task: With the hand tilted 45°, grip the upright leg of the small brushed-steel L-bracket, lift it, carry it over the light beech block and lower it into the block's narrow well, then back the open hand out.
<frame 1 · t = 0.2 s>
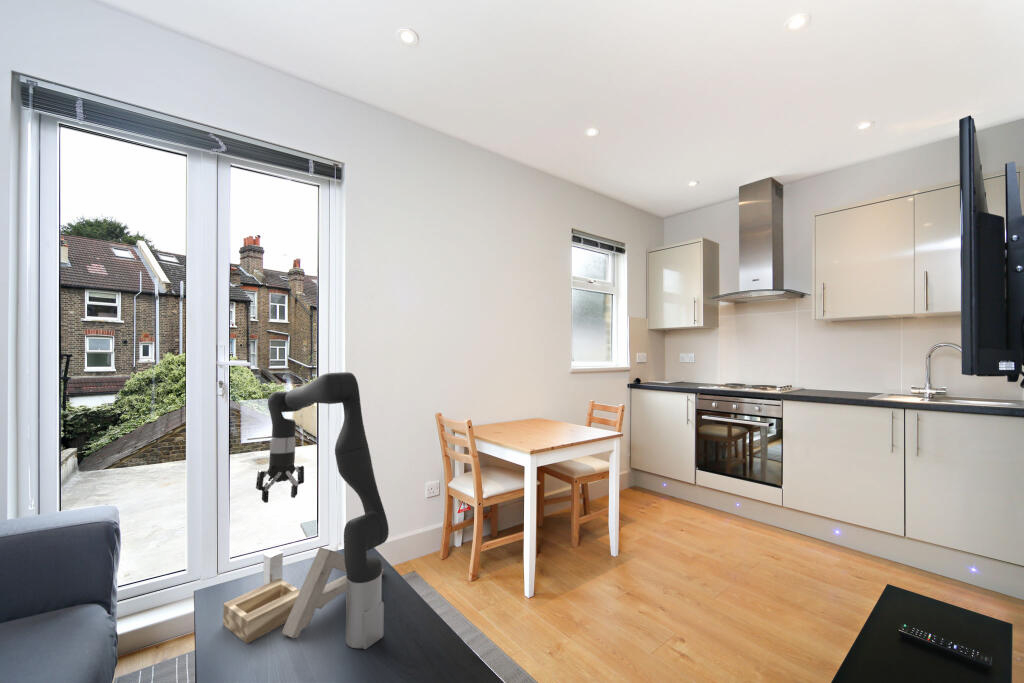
hand: (279, 499, 141), 29 cm above the table, tool pointing down, fingers open, 8 cm apart
beech well block: (264, 618, 124), on the table
wall bracket: (339, 603, 132), on the table
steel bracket: (262, 597, 134), on the table
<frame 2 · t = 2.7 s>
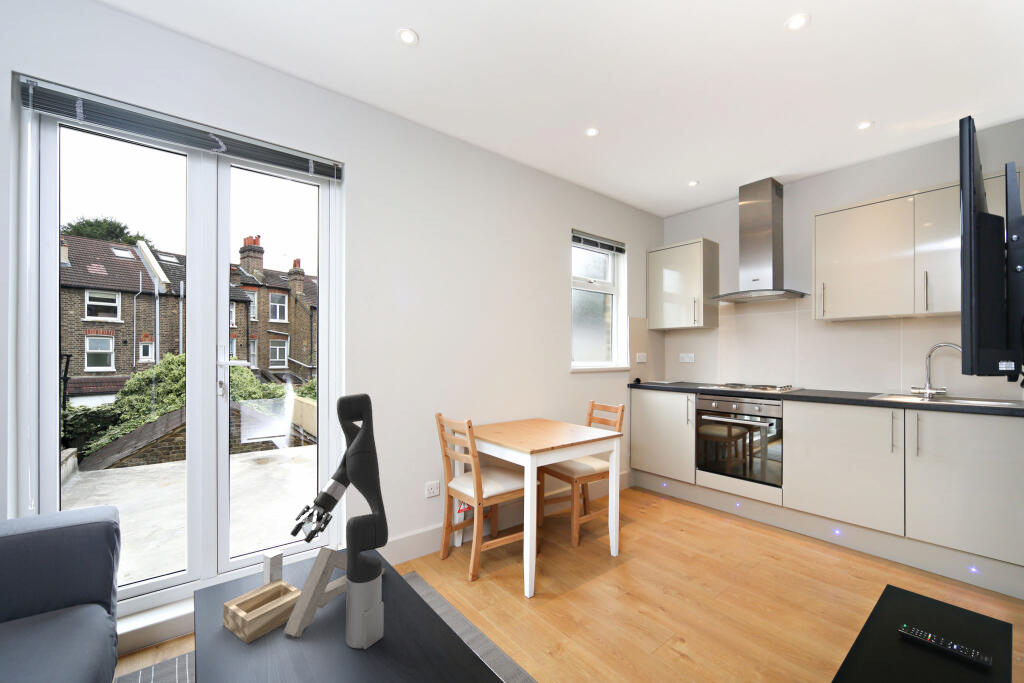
hand: (299, 538, 144), 14 cm above the table, tool tilted 45°, fingers open, 8 cm apart
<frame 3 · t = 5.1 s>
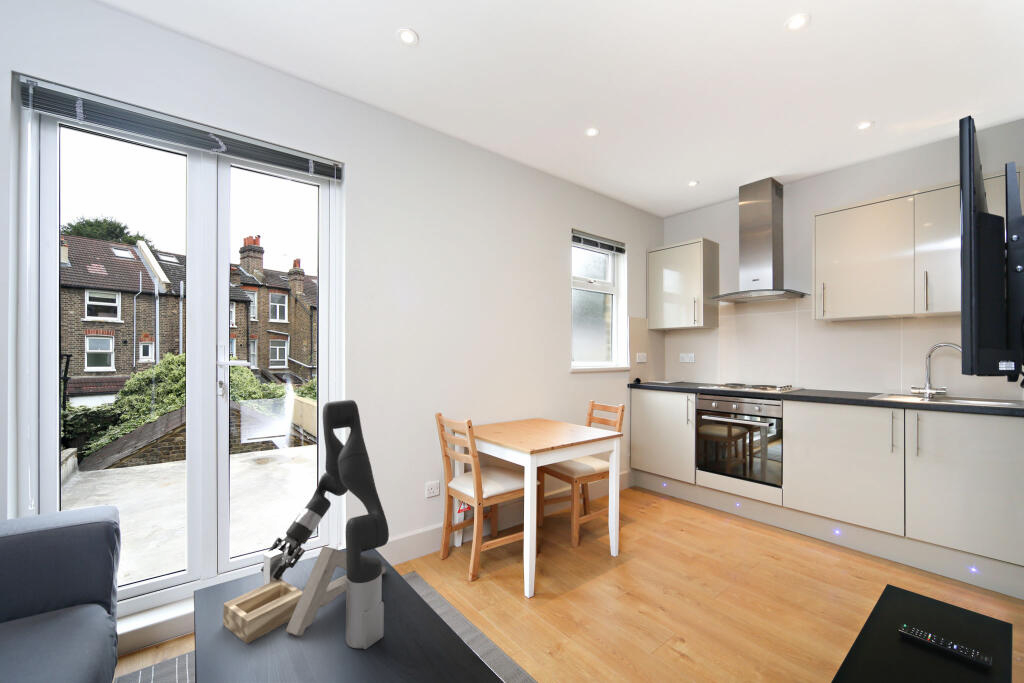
hand: (269, 575, 135), 7 cm above the table, tool tilted 45°, fingers open, 6 cm apart
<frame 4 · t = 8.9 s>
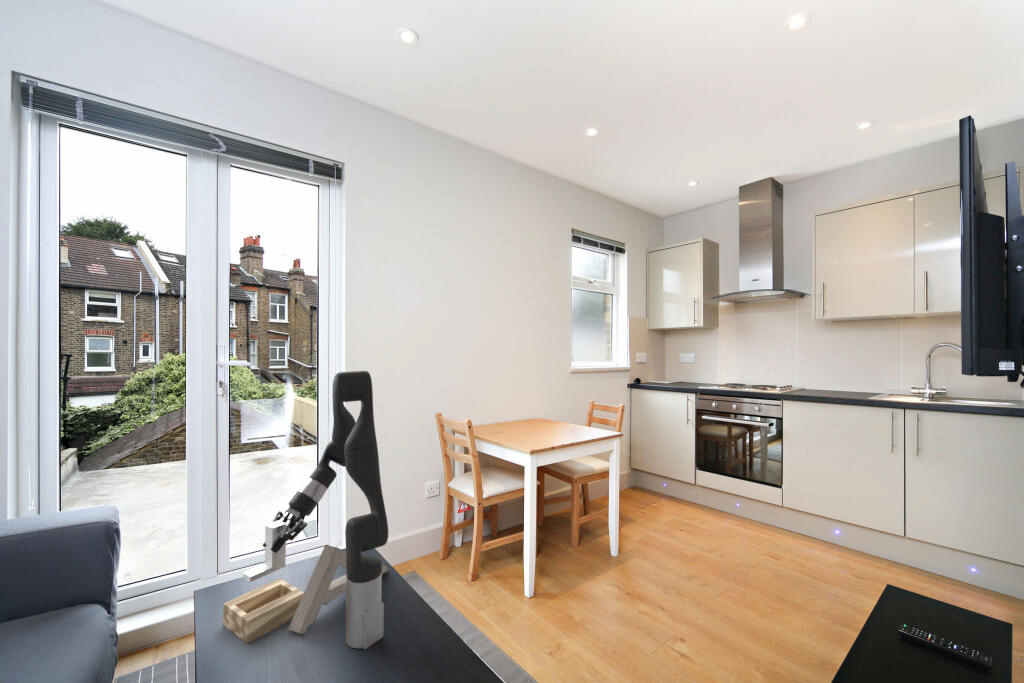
hand: (269, 549, 125), 20 cm above the table, tool tilted 45°, fingers closed on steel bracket, 4 cm apart
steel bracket: (264, 572, 124), point 14 cm above the table, touching gripper
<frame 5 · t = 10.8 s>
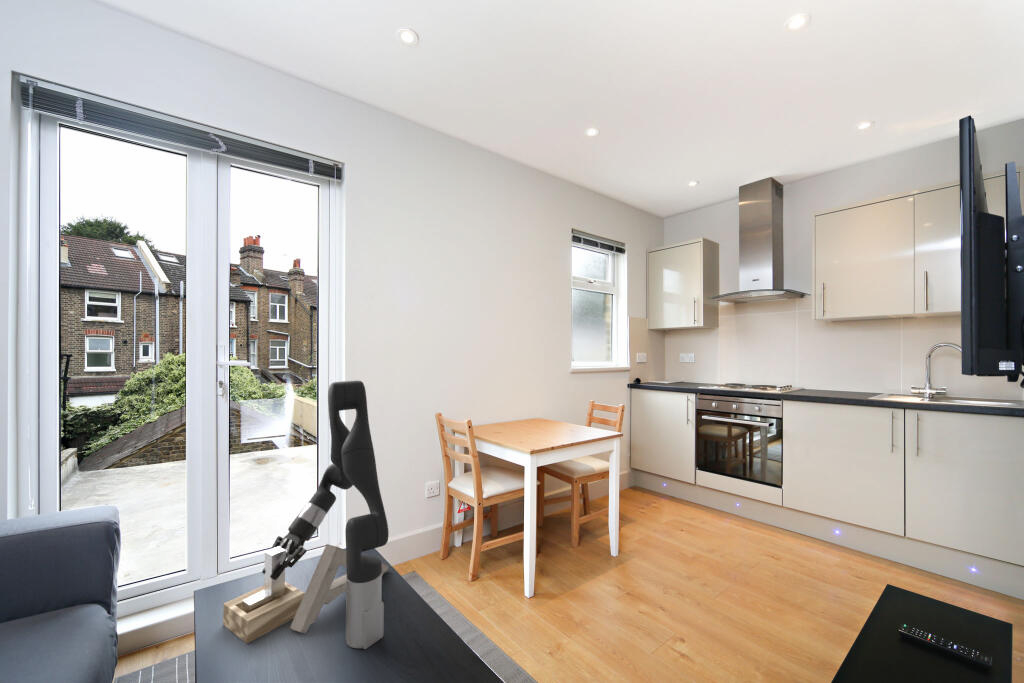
hand: (268, 576, 125), 12 cm above the table, tool tilted 45°, fingers closed on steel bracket, 4 cm apart
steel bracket: (264, 599, 124), point 6 cm above the table, touching gripper
when the fingers open (8 cm above the table, at t = 12.0 s): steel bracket drops 1 cm, resting on beech well block.
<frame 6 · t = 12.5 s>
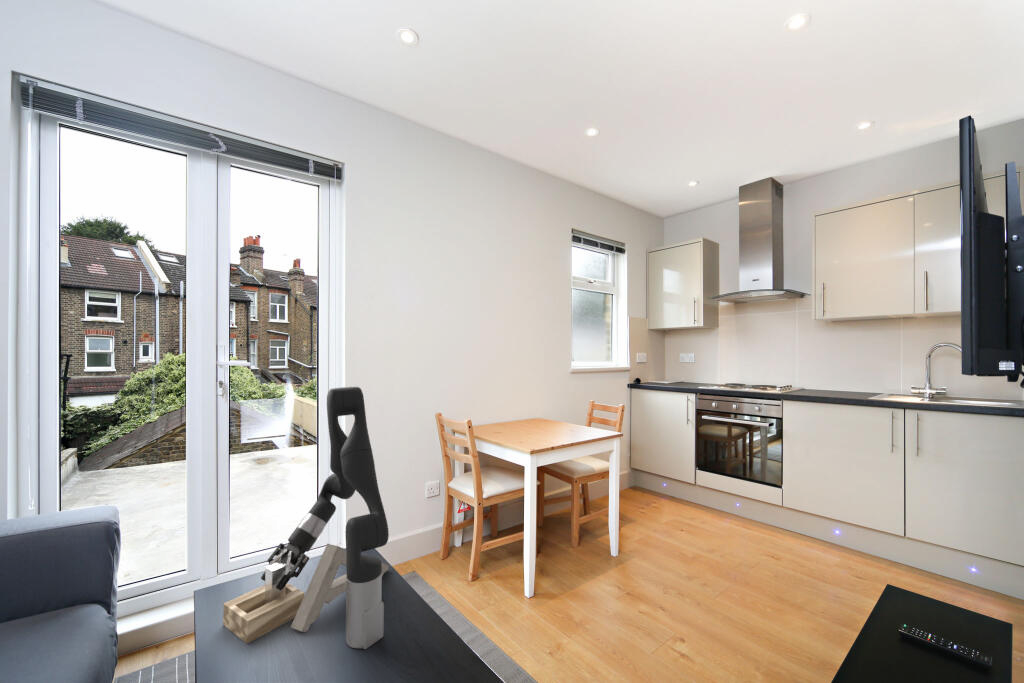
hand: (270, 584, 125), 9 cm above the table, tool tilted 45°, fingers open, 8 cm apart
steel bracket: (264, 615, 124), point 1 cm above the table, touching beech well block
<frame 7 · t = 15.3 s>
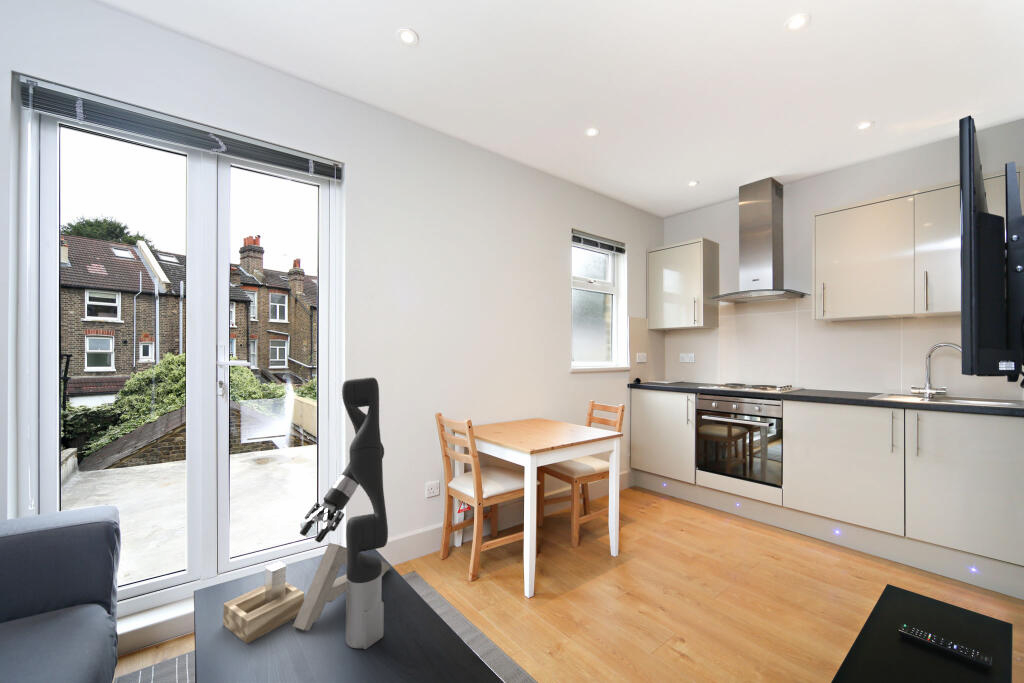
hand: (309, 538, 136), 18 cm above the table, tool tilted 45°, fingers open, 8 cm apart
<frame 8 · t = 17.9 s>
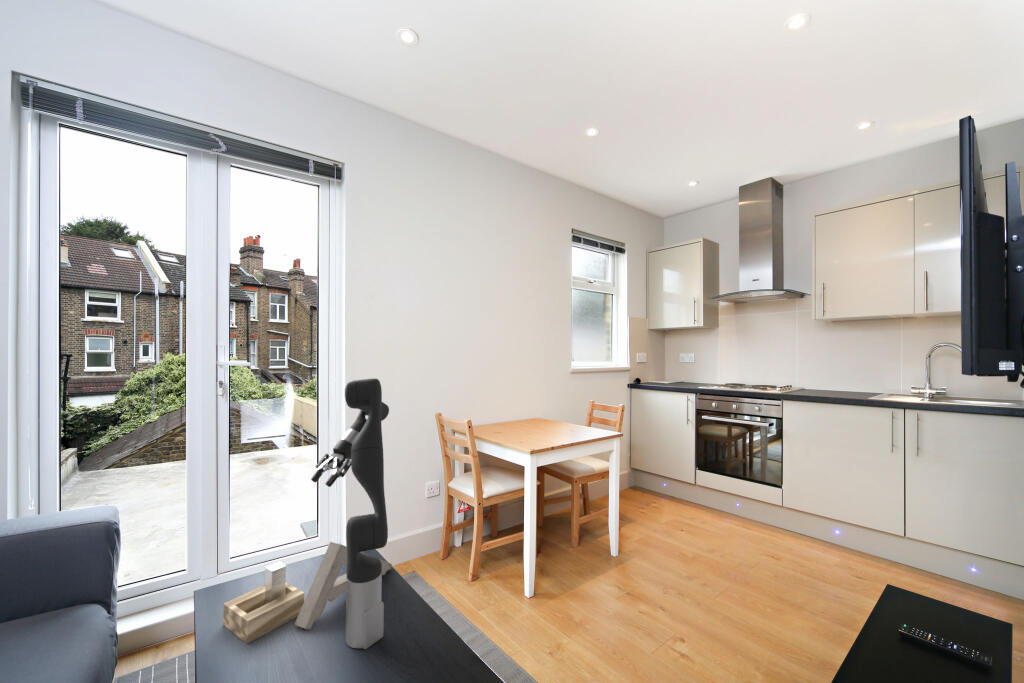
hand: (320, 483, 146), 33 cm above the table, tool tilted 45°, fingers open, 8 cm apart
at the end: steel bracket 0.1 cm off-centre on the beech well block, point 1.0 cm above the beech well block's base; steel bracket tilted 0°; the gripper is holding nothing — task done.
